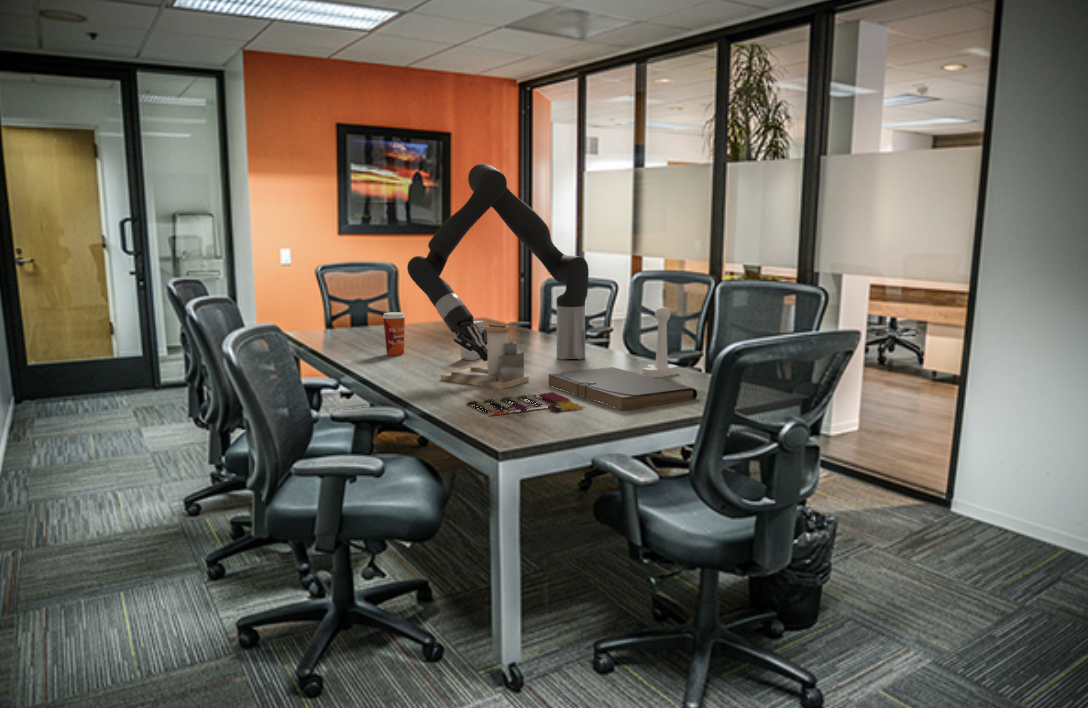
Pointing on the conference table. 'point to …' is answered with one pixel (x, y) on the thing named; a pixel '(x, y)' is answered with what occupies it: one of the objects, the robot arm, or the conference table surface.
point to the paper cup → (394, 332)
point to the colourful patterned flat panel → (551, 397)
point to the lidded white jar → (495, 346)
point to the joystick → (661, 348)
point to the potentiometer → (510, 347)
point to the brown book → (621, 388)
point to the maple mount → (507, 376)
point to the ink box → (471, 354)
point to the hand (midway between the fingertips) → (488, 359)
